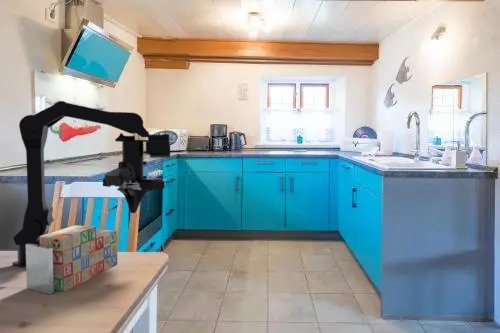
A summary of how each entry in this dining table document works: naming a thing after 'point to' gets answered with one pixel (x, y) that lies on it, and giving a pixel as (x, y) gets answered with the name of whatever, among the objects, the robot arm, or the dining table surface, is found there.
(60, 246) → the stack of blocks
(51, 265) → the bookend
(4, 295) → the dining table surface
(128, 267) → the dining table surface
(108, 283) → the dining table surface
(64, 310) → the dining table surface
